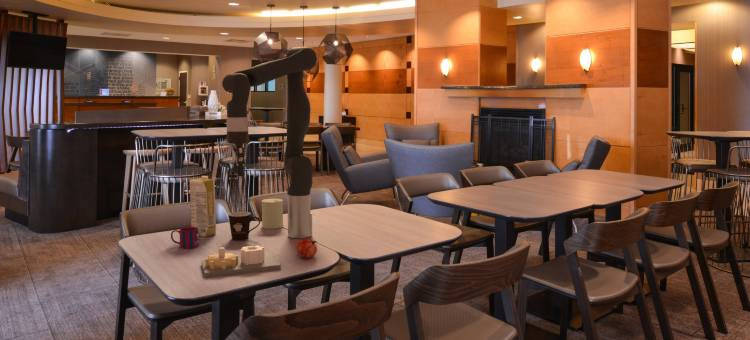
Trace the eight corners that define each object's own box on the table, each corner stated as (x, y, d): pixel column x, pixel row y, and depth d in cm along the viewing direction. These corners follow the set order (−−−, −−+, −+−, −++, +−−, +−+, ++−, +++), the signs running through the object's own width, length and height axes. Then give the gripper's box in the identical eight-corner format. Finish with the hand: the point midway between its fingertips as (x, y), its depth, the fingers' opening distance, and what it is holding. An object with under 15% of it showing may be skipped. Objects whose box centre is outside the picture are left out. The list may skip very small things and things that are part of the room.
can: (273, 230, 235) (272, 202, 233) (257, 227, 240) (256, 199, 238) (287, 225, 242) (287, 198, 241) (272, 223, 247) (271, 196, 246)
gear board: (272, 257, 195) (272, 238, 194) (280, 269, 183) (280, 248, 182) (201, 264, 187) (200, 244, 186) (205, 277, 174) (204, 255, 173)
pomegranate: (293, 265, 193) (312, 252, 189) (285, 247, 196) (303, 233, 191) (307, 262, 200) (326, 249, 195) (299, 245, 202) (317, 231, 197)
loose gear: (262, 257, 190) (262, 244, 189) (265, 262, 184) (265, 249, 184) (239, 260, 187) (239, 247, 187) (242, 265, 182) (242, 251, 181)
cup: (195, 249, 206) (194, 231, 205) (168, 248, 206) (167, 230, 205) (201, 244, 212) (200, 226, 211) (175, 243, 213) (175, 226, 212)
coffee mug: (224, 240, 218) (223, 215, 217) (237, 235, 226) (237, 211, 225) (249, 243, 214) (248, 217, 213) (261, 237, 222) (261, 213, 220)
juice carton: (219, 233, 228) (217, 176, 224) (204, 238, 221) (201, 178, 218) (203, 230, 233) (201, 174, 229) (188, 234, 226) (186, 176, 223)
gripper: (251, 130, 194) (252, 176, 196) (245, 128, 207) (246, 171, 209) (229, 131, 191) (230, 177, 193) (224, 128, 204) (225, 172, 206)
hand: (238, 174), depth 201 cm, fingers open, 8 cm apart
